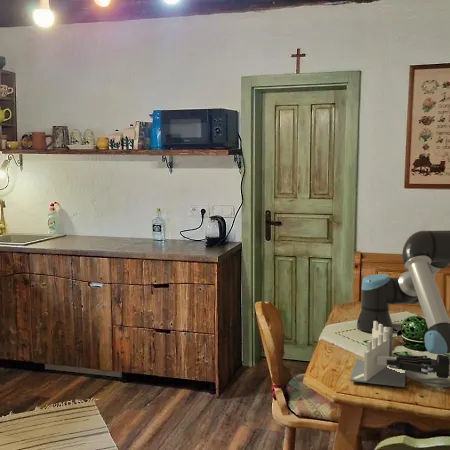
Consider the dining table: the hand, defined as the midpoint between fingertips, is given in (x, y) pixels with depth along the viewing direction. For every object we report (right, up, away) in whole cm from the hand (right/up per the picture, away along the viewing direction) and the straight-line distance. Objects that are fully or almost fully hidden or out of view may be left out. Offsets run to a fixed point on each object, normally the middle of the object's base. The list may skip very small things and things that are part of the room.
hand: (377, 359), depth 198 cm
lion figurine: (+10, 0, +32) cm, 33 cm away
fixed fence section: (+7, -4, +18) cm, 20 cm away
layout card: (+4, -5, +10) cm, 12 cm away
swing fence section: (+1, -5, +3) cm, 6 cm away
